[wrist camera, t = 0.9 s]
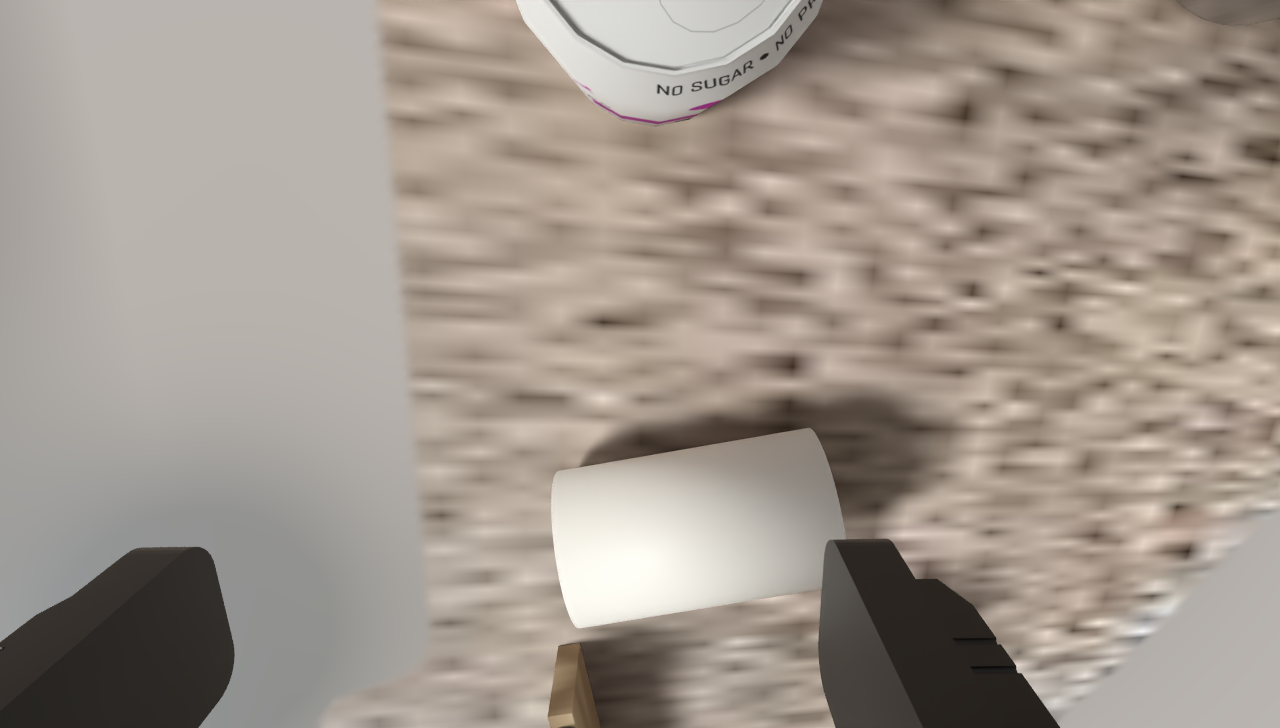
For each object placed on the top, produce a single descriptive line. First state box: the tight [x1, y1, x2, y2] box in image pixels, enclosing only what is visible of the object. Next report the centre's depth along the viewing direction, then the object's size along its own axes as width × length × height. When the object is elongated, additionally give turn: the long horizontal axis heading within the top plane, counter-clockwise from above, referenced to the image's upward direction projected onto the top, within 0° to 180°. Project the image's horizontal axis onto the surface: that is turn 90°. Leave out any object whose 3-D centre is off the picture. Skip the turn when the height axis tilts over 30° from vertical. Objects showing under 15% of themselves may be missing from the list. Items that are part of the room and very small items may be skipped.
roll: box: [551, 428, 846, 628], centre depth 32 cm, size 12×7×7 cm, turn 100°
